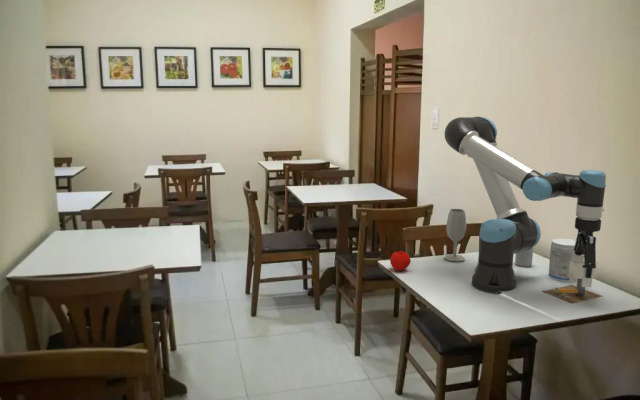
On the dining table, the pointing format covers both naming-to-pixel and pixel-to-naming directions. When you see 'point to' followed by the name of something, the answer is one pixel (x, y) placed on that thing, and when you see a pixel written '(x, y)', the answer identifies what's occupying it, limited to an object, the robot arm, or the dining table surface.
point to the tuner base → (571, 295)
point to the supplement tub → (561, 259)
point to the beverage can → (524, 258)
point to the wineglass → (456, 231)
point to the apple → (400, 260)
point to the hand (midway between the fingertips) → (581, 280)
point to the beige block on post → (577, 277)
